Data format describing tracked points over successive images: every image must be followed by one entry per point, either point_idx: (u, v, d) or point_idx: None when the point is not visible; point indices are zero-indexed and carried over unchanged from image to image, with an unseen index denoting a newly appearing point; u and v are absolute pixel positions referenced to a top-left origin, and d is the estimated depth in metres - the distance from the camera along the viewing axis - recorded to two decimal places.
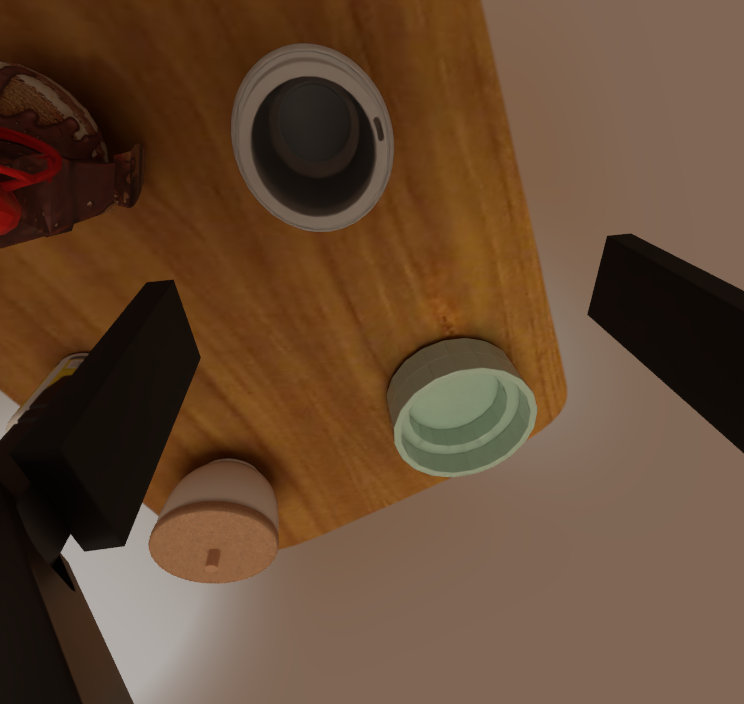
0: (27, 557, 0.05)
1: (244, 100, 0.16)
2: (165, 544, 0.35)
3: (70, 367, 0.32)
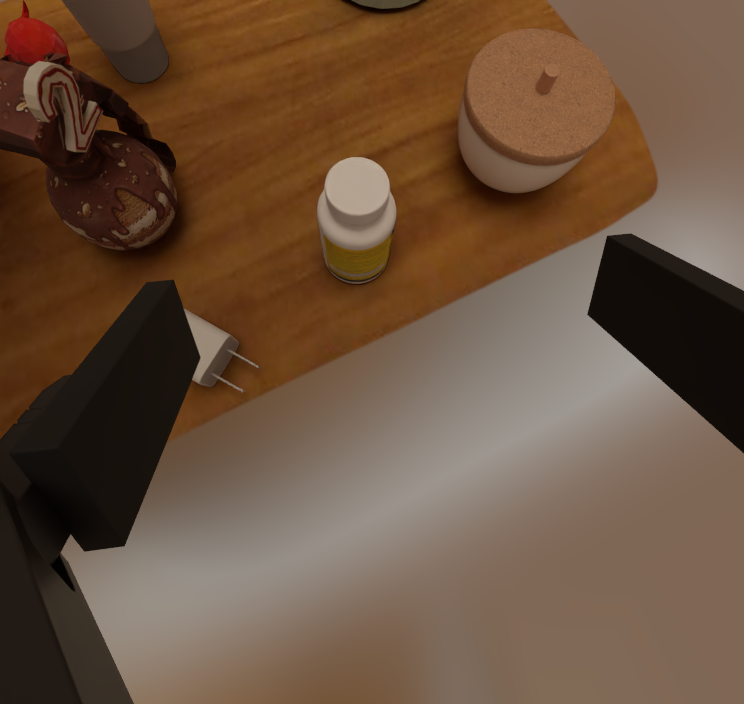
0: (27, 557, 0.05)
1: None
2: (525, 134, 0.29)
3: None
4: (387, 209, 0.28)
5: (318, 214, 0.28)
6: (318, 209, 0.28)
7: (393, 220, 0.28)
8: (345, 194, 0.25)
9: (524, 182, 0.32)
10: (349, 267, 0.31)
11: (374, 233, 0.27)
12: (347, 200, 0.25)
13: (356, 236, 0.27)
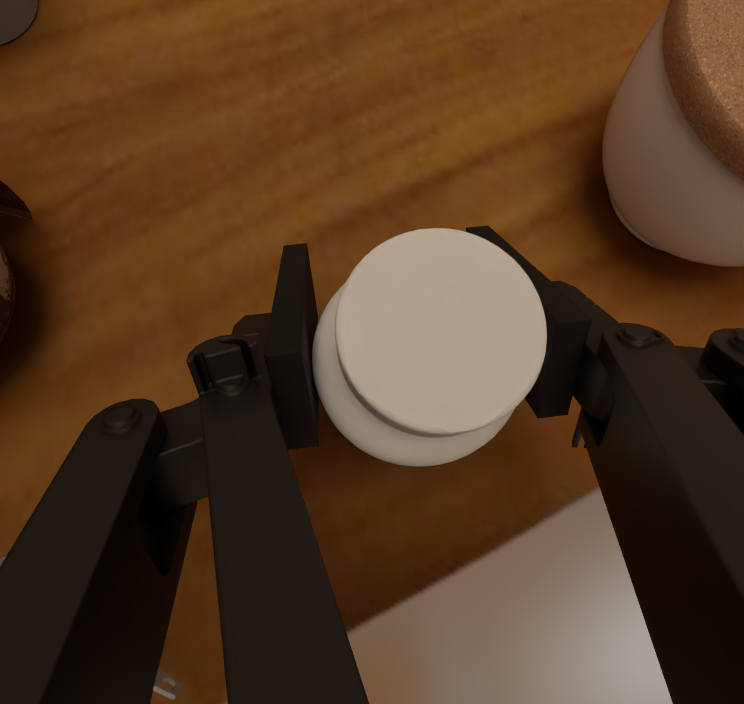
0: (285, 445, 0.07)
1: None
2: None
3: None
4: None
5: (315, 373, 0.10)
6: (315, 359, 0.10)
7: None
8: (405, 358, 0.08)
9: None
10: None
11: (475, 435, 0.10)
12: (412, 378, 0.08)
13: (425, 446, 0.09)
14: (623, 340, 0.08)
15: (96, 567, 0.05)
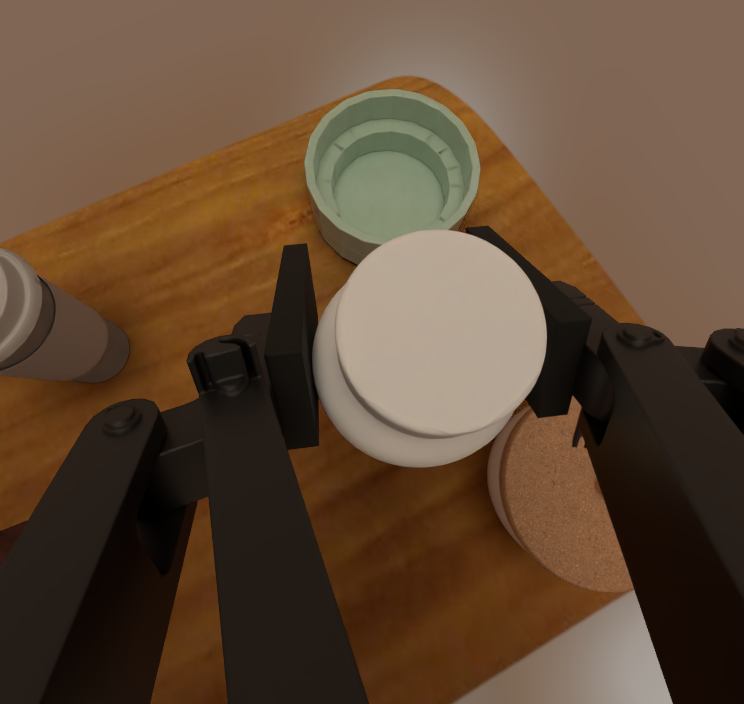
0: (285, 445, 0.07)
1: None
2: (584, 561, 0.22)
3: None
4: None
5: (315, 374, 0.10)
6: (315, 360, 0.10)
7: None
8: (404, 359, 0.08)
9: None
10: None
11: (475, 436, 0.10)
12: (412, 380, 0.08)
13: (424, 448, 0.09)
14: (623, 340, 0.08)
15: (96, 567, 0.05)
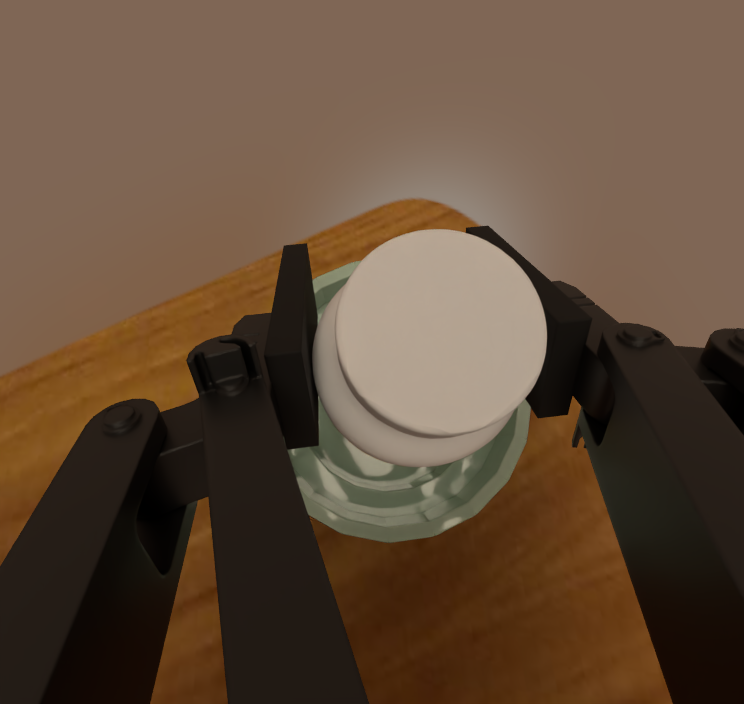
0: (285, 445, 0.07)
1: None
2: None
3: None
4: None
5: (315, 374, 0.10)
6: (315, 360, 0.10)
7: None
8: (404, 359, 0.08)
9: None
10: None
11: (475, 436, 0.10)
12: (412, 379, 0.08)
13: (425, 447, 0.09)
14: (624, 340, 0.08)
15: (96, 567, 0.05)
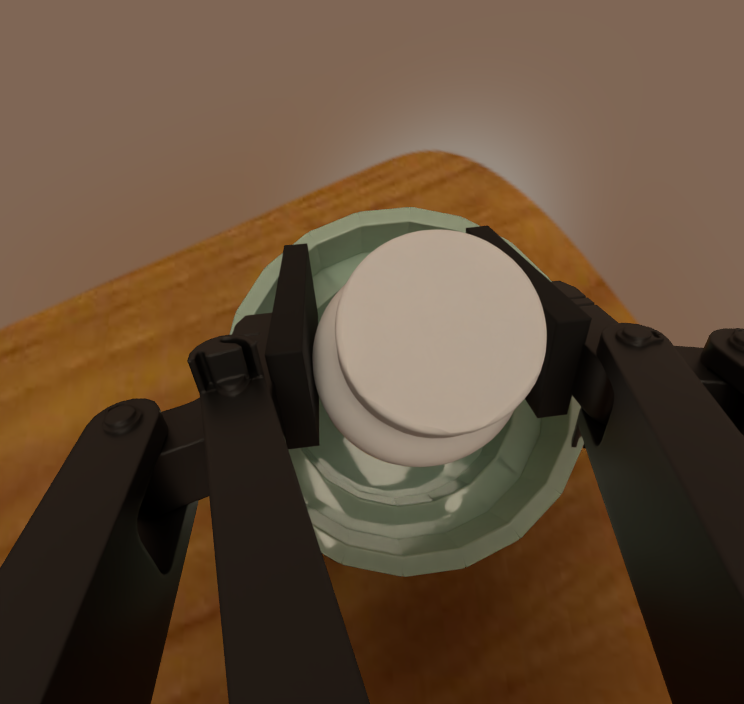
0: (286, 445, 0.07)
1: None
2: None
3: None
4: None
5: (316, 374, 0.10)
6: (316, 360, 0.10)
7: None
8: (405, 359, 0.08)
9: None
10: None
11: (475, 435, 0.10)
12: (412, 379, 0.08)
13: (425, 447, 0.10)
14: (623, 340, 0.08)
15: (97, 566, 0.05)
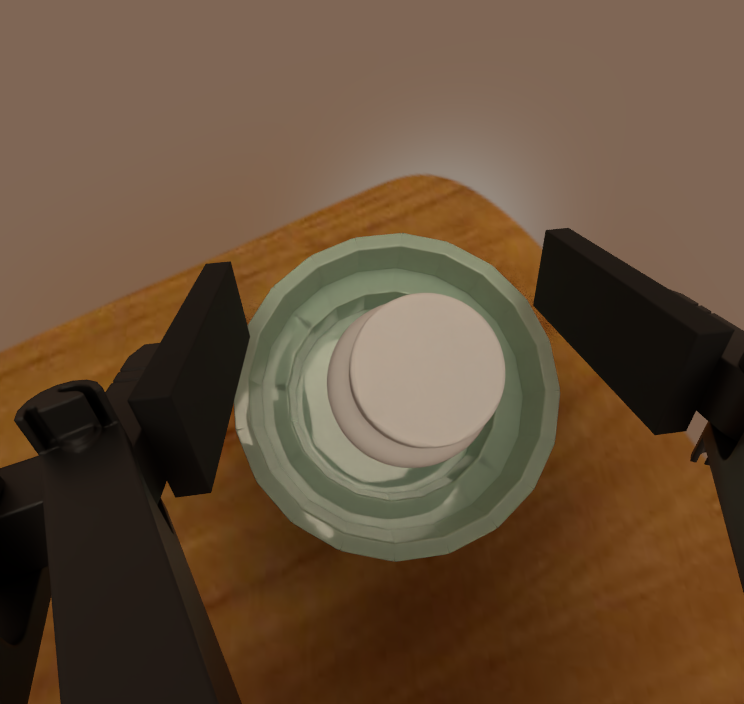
0: (146, 496, 0.06)
1: None
2: None
3: None
4: None
5: (330, 395, 0.13)
6: (330, 384, 0.13)
7: None
8: (401, 392, 0.10)
9: None
10: None
11: (454, 444, 0.13)
12: (406, 407, 0.10)
13: (415, 453, 0.12)
14: None
15: None
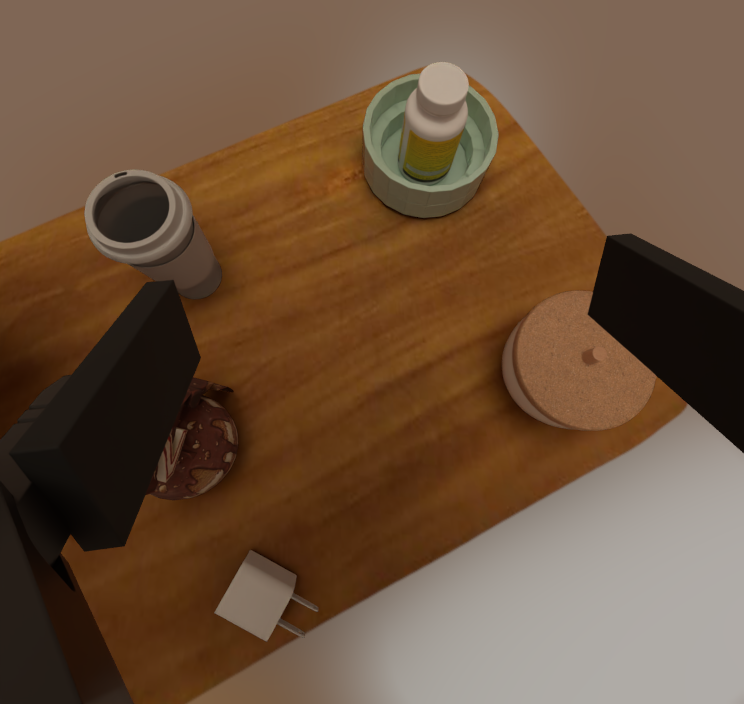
0: (27, 557, 0.05)
1: (108, 250, 0.28)
2: (573, 407, 0.31)
3: (399, 147, 0.40)
4: (462, 107, 0.35)
5: (407, 112, 0.35)
6: (407, 108, 0.35)
7: (466, 117, 0.36)
8: (435, 89, 0.33)
9: None
10: (425, 163, 0.39)
11: (452, 125, 0.35)
12: (436, 93, 0.33)
13: (439, 127, 0.35)
14: None
15: None
